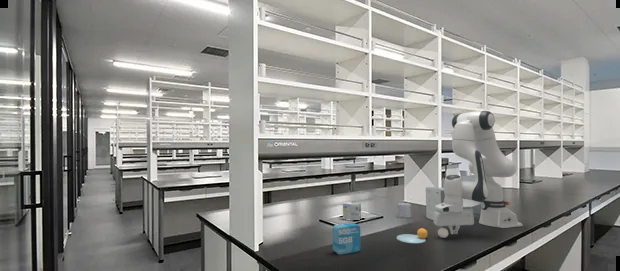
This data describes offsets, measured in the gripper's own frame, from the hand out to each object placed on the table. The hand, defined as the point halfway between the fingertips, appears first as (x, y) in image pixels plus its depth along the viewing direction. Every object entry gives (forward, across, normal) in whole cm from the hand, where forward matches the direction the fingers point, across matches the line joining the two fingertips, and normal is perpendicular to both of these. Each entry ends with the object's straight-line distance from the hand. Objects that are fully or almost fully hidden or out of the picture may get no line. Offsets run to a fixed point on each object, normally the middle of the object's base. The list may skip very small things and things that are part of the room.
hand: (454, 233), depth 157 cm
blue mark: (+2, +23, 0) cm, 23 cm away
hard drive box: (+2, -9, -33) cm, 34 cm away
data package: (+2, +59, +14) cm, 61 cm away
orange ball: (-1, +17, 0) cm, 17 cm away
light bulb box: (+2, +44, -41) cm, 60 cm away
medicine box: (+2, +9, -43) cm, 44 cm away
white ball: (-1, +6, 0) cm, 6 cm away
